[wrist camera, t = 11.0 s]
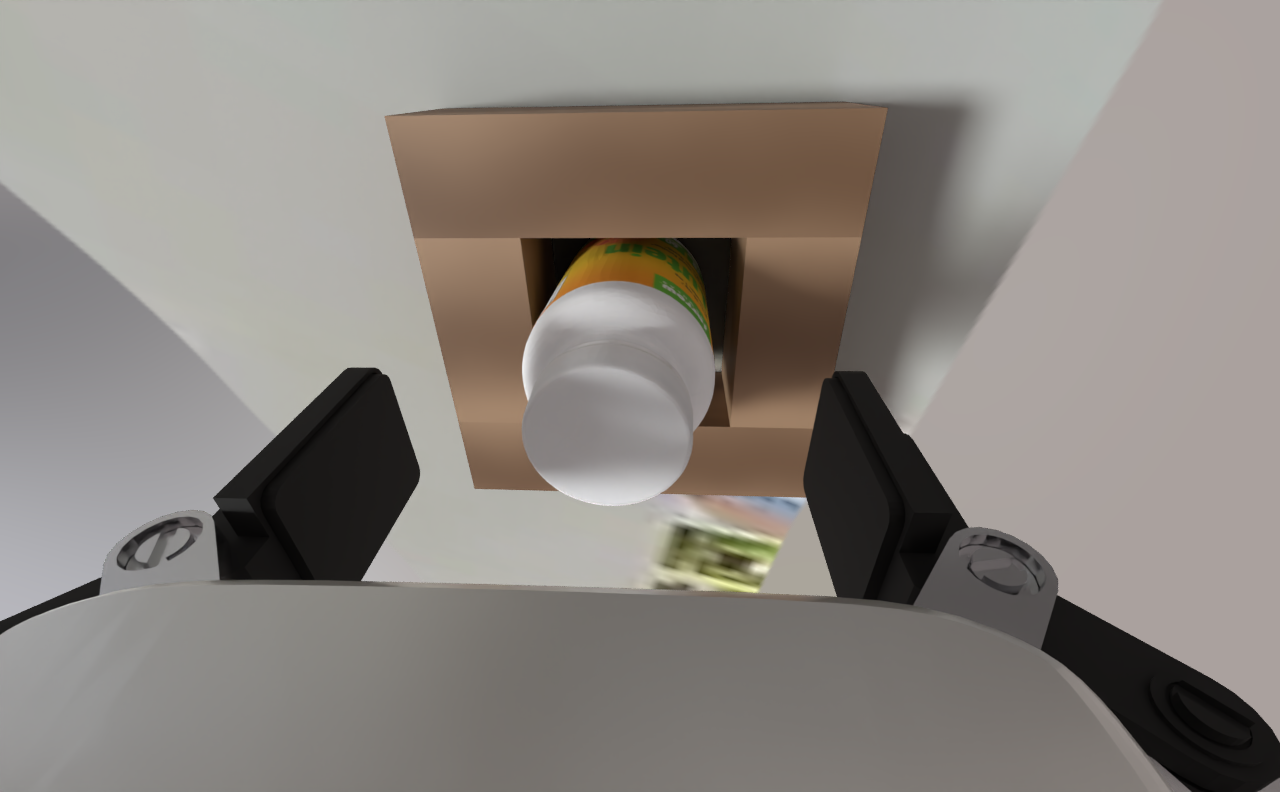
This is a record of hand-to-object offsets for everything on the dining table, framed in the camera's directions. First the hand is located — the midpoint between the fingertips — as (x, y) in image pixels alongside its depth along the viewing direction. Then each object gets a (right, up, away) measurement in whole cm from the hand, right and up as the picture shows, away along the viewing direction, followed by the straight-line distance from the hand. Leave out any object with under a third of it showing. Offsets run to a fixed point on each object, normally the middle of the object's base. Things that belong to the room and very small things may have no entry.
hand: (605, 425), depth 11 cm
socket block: (+1, +5, +9) cm, 10 cm away
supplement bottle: (+1, +5, +9) cm, 10 cm away
